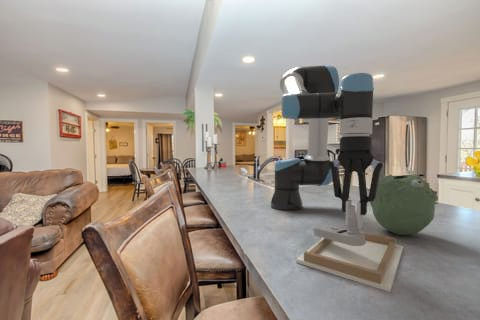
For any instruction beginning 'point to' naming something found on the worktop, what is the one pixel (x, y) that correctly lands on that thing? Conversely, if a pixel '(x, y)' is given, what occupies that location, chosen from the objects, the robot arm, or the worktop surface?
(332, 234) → the electronic device
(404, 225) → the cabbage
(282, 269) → the worktop surface
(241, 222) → the worktop surface
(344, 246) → the wooden framed canvas
